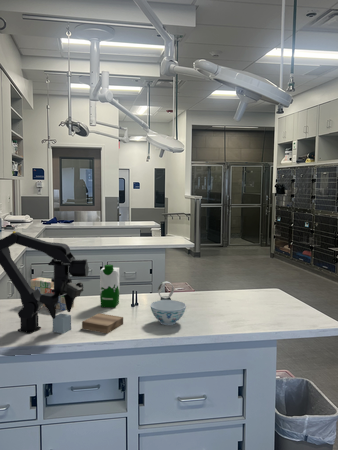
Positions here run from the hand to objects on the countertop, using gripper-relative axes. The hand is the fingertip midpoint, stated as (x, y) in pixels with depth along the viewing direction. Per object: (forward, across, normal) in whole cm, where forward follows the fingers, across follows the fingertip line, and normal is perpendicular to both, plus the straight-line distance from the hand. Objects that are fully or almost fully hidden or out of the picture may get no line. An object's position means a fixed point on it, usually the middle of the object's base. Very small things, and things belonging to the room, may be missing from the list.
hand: (61, 315), depth 159 cm
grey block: (+6, 0, 0) cm, 6 cm away
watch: (+6, +51, -22) cm, 56 cm away
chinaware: (+6, +27, -34) cm, 44 cm away
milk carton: (+6, +37, +1) cm, 38 cm away
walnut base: (+6, +11, -12) cm, 18 cm away
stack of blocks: (+7, +25, +26) cm, 36 cm away
